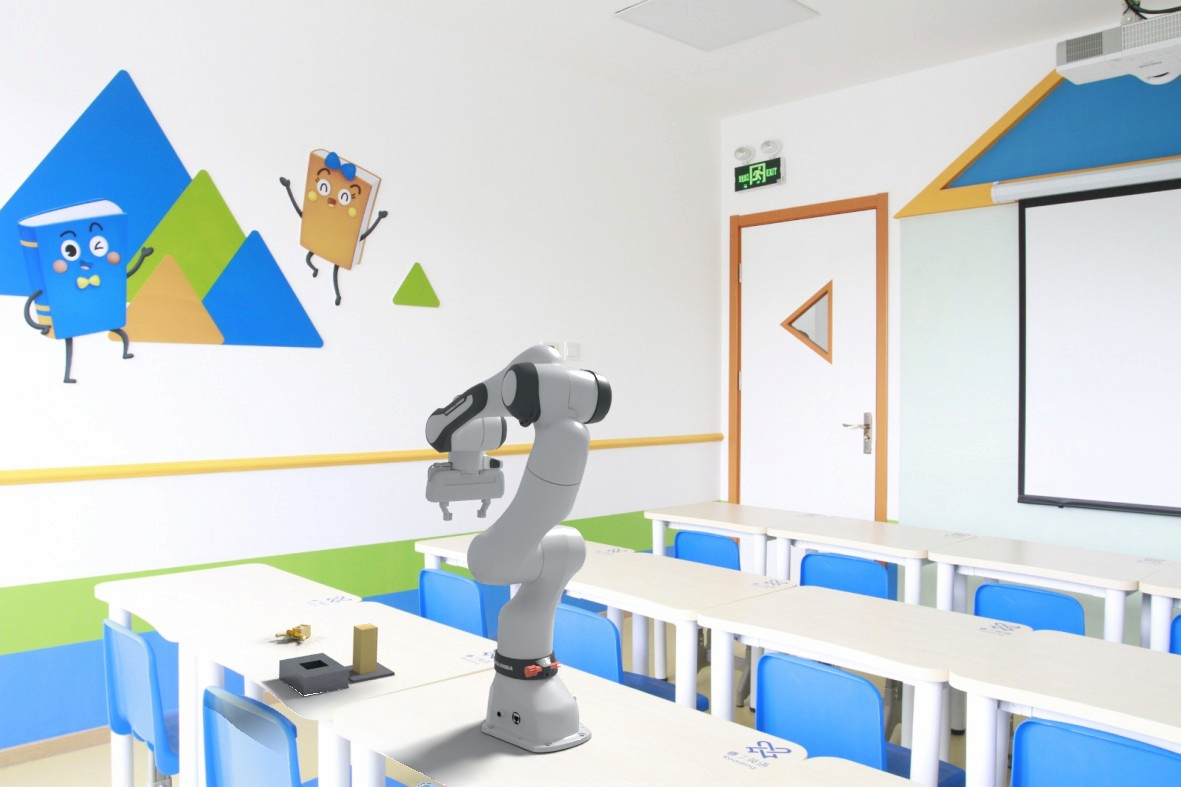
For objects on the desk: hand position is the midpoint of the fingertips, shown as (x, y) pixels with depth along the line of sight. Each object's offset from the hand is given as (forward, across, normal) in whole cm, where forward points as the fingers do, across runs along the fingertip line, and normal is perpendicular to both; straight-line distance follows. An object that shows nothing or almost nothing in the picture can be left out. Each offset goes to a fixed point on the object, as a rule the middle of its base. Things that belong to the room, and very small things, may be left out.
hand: (464, 518), depth 216 cm
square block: (+34, -23, +4) cm, 41 cm away
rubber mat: (+34, -23, +4) cm, 41 cm away
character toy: (+35, -27, +37) cm, 58 cm away
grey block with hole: (+34, -35, +4) cm, 49 cm away
